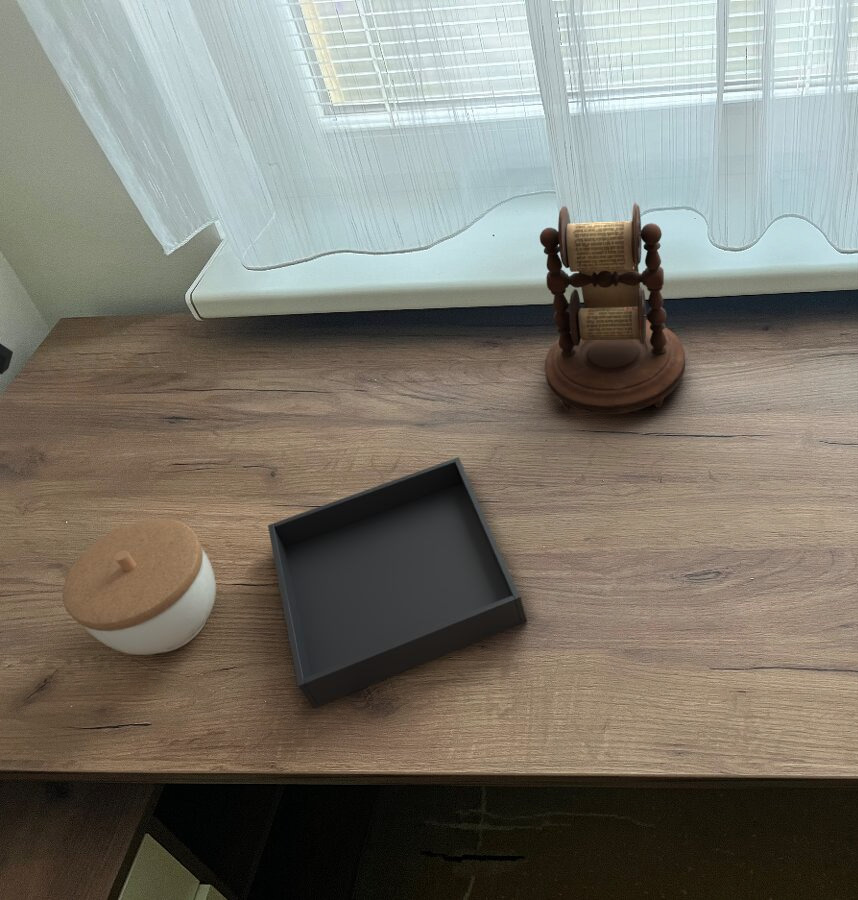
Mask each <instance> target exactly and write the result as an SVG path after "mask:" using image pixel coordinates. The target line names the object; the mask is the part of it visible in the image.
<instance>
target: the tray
mask: <svg viewBox="0 0 858 900" xmlns="http://www.w3.org/2000/svg"><path fill="white" fill-rule="evenodd" d="M267 528H268V534H269V538H270V543H271V549H272V554H273V560H274V566H275V571H276V576H277V581H278V588H279V593H280V598H281V604H282V609H283V613H284V619H285V624H286V630H287V635H288V640H289V646H290V651H291V657H292V663H293V667H294V673H295V678H296V684H297V687H298V689H299V691H300V692H301V693H302V695H303V697H304V698H305V700H306V701H307V702H308V704H309V705H310V707H311V708H312V709H315V708H318V707H320V706H323V705H325V704H328V703H330V702H332V701H335V700H338V699H340V698H343V697H345V696H347V695H350V694H353V693H355V692H357V691H360V690H362V689H364V688H367V687H369V686H373V685H374V684H377V683H380V682H382V681H385V680H387V679H389V678H392V677H394V676H397V675H399V674H401V673H404V672H406V671H409V670H411V669H414V668H417V667H418V666H421V665H423V664H426V663H429V662H431V661H434V660H436V659H438V658H441V657H443V656H446V655H449V654H451V653H453V652H455V651H458V650H461V649H463V648H465V647H467V646H470V645H472V644H475V643H478V642H480V641H483V640H485V639H488V638H490V637H492V636H496V635H498V634H500V633H502V632H505V631H507V630H510V629H512V628H514V627H517V626H519V625H522V624H524V623H527V622H528V620H527V619H528V618H527V616H526V612H525V608H524V605H523V601H522V598H521V595H520V593H519V590H518V588H517V586H516V583H515V581H514V580H513V579H514V578H513V577H512V575H511V572H510V570H509V568H508V566H507V563H506V561H505V559H504V557H503V554H502V552H501V550H500V547H499V545H498V543H497V540H496V539H495V537H494V534H493V532H492V529H491V527H490V525H489V523H488V520H487V518H486V516H485V513H484V512H483V509H482V506H481V504H480V503H479V500H478V498H477V495H476V493H475V490H474V488H473V486H472V485H471V482H470V480H469V477H468V475H467V473H466V470H465V468H464V466H463V464H462V461H461V460H460V457H459V456H458V457H454V458H453V459H452V458H451V459H448V460H446V461H444V462H440V463H438V464H435V465H433V466H429V467H427V468H424V469H420V470H418V471H415V472H412V473H410V474H407V475H404V476H401V477H399V478H396V479H393V480H391V481H387V482H385V483H381V484H379V485H377V486H374V487H371V488H368V489H366V490H362V491H359V492H357V493H354V494H352V495H348V496H345V497H343V498H340V499H337V500H334V501H331V502H329V503H326V504H323V505H321V506H318V507H314V508H313V509H312V508H311V509H309V510H306V511H304V512H301V513H299V514H295V515H293V516H290V517H287V518H284V519H281V520H279V521H276V522H273V523H270V524H267Z"/></svg>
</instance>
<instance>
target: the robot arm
mask: <svg viewBox="0 0 858 900" xmlns="http://www.w3.org/2000/svg"><path fill="white" fill-rule="evenodd" d="M13 354H14V351H13V350H11V349H10V348H8V347H7V346H5V345H3V344H2V343H0V375H3V374H4V373H5V372H6V371H8V370H9V368H10V365H11V360H12V357H13Z"/></svg>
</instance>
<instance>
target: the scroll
mask: <svg viewBox="0 0 858 900" xmlns="http://www.w3.org/2000/svg"><path fill="white" fill-rule="evenodd" d="M570 217H571V216H570V213H569V210H568V207H567V206H565V205H563V206H562V208H560V210H559V214H558V220H557V221H558V222H557V229H556V228H554V227H546V228H544V229H543V230H542V231H541V232H540V234H539V242H540V244H541V246H542V247H543V253H544V254H545V255H547V256H546V257H547V258H546V269H547V271H548V272H547V273H546V287H547V289H548V290H549V291H550V292H551V294H552V295H553V303H552V304H553V305H552V306H553V309H554V310H555V312H554V313H553V316H552V317H553V318H552V319H553V323H554V325H556V327H557V328H556V331H557V333H558V334H560V335H559V338H558V339H557V340H556V341H555V342H554V343H553V345H552V346H551V347H550V349H549V350H548V352H547V354H546V357H545V360H544V373H545V379H546V383H547V385H548V388H549V390H550V391H551V392H552V394H553V395H554V396H555V397H556V398H557V399H558V400H560V402H561V404H562V406H563V407H564V408H565V409H570V408H573V409H576V410H579V411H583V412H588V413H592V414H601V415H614V414H623V413H625V414H626V413H629V412H634V411H638V410H642V409H644V408H645V409H646V408H647V407H650V406H652V405H654V406H655V407H656V408H660V407H662V405H663V402H664V398H666V397H667V396H668V395H669V394H671V393H672V392H673V391H674V390H675V389H676V388H677V387H678V385H679V384H680V382H681V381H682V379H683V377H684V374H685V370H686V352H685V349H684V346H683V343H682V342H681V340H680V339H679V337H678V336H677V335H676V334H675V333H674V332H672V330H670V329H669V328H667V327H666V324H665V321H666V319H667V312H666V311H667V310H665V308H663V306H664V298H663V295H662V293H661V291H662V290H663V286H664V285H665V273H664V268H663V267H662V266H661V265H662V259H661V256H660V253H659V251H658V250H659V249H660V248H661V243H660V241H661V238H662V235H663V233H662V229H661V227H660V226H659V225H658V224H656V223H653V222H649V223H647V224H645V225H643V226H642V218H641V210H640V206H639V204H638V203H637V202H634V203H633V205H632V217H631V218H632V219H631V220H623V221H622V220H621V221H600V222H599V221H597V222H596V221H595V222H577V223H576V222H575V223H573V222H572V223H571V218H570ZM642 243H643V244H642ZM642 245H643V246H642ZM642 247H643V250H645V251H646V254H645V259H644V264H645V266H646V267H645V269H644V270H643V271H642V272H641V273H640V270H639V265H640V264H641V261H642ZM563 267H564V268H565V269H569V271H570V272H571V273H572V274H571V275H569V274H568V273H566V271H565V270H563ZM641 283H642V285H643V286H645V287H646V289H647V291H648V292H649V296H648V299H647V303H646V294H645V289H644V288H643V287H642V286H641ZM569 286H571V287H573V288H575V289H573V290H572V291H571V293H570V295H569V296H570V298H569V301H568V299H567V297H566V296H565V294H566V292H567V289H568V288H569ZM577 288H581V295H582V298H583V299H582V301H583V307H582V306H581V305H582V304H581V299H580V298H581V297H580V294H579V291H578V289H577ZM647 304H648V306H649V309H648V311H647ZM568 308H569V309H568Z"/></svg>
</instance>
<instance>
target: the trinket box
mask: <svg viewBox="0 0 858 900" xmlns="http://www.w3.org/2000/svg"><path fill="white" fill-rule="evenodd" d="M216 581H217V580H216V576H215V572H214V568H213V565H212V563H211V561H210V558H209V556H208V555H207V553H206V551H205V550H204V548H203V547H202V544H201V541H200V539H199V538H198V536H197V535H196V533H195V532H194V530H193V529H192V528H191V527H189V526H188V525H186V524H184V523H183V522H180V521H177V520H174V519H168V518H149V519H144V520H138V521H135V522H132V523H129V524H126V525H124V526H122V527H119V528H116V529H115V530H113V531H111V532H109V533H108V534H106V535H104V536H103V537H101V538H100V539H98V540H96V541H95V542H94V543H93V544H92V545H90V546H89V547H88V548H87V549H86V550H85V551H84V552H83V553H82V554H81V555H80V556H79V557H78V558H77V560H76V561H74V564H73V565H72V566H71V567H70V569H69V571H68V573H67V575H66V577H65V580H64V584H63V587H62V597H61V598H62V603H63V607H64V609H65V611H66V612H67V613H68V614H69V615H70V617H71V618H72V619H73V620H74V621H75V622H76V623H78V624H79V625H81V627H83V628H84V629H85V630H86V632H88V633H89V634H90V636H92V637H94V638H95V639H96V640H98V641H99V642H100V643H102V644H103V645H105V646H107V647H109V648H110V649H112V650H115V651H118V652H120V653H125V654H129V655H137V656H147V655H155V654H162V653H163V654H164V653H168V652H172V651H175V650H177V649H180V648H181V647H184V646H185V645H187V644H189V643H190V642H191V641H193V639H195V638H196V637H197V636H198V635H199V633H201V631H202V630H203V628H204V627H205V625H206V623H207V621H208V619H209V616H210V615H211V613H212V611H213V609H214V605H215V601H216V596H217V582H216Z"/></svg>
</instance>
